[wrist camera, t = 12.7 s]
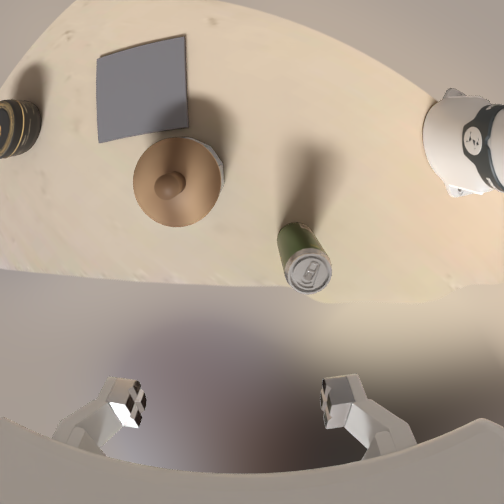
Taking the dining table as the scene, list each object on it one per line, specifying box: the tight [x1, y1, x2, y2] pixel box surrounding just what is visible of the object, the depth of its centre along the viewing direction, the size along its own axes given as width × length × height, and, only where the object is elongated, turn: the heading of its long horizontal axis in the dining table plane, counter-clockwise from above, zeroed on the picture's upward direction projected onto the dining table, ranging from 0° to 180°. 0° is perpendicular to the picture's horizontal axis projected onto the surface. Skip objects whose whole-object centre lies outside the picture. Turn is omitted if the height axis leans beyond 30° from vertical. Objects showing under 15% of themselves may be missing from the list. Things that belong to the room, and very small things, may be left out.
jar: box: [0, 99, 41, 159], centre depth 30 cm, size 10×10×8 cm
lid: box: [133, 137, 221, 227], centre depth 31 cm, size 11×11×5 cm
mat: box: [96, 37, 189, 143], centre depth 33 cm, size 14×14×1 cm
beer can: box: [277, 222, 332, 294], centre depth 36 cm, size 5×5×12 cm
